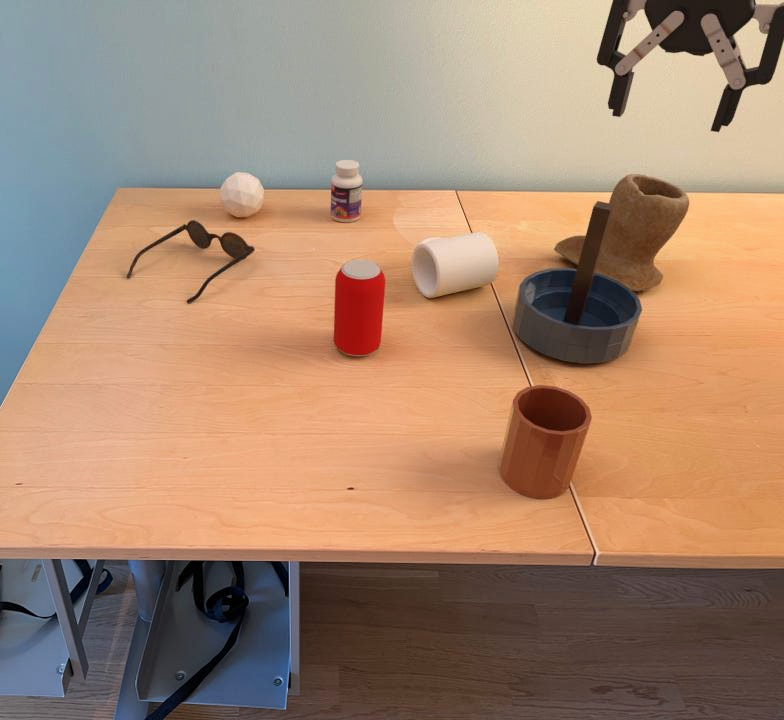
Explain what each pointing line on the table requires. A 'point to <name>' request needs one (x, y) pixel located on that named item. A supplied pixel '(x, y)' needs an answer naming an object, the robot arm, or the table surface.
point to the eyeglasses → (203, 239)
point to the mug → (454, 264)
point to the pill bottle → (346, 192)
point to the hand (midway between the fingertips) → (665, 121)
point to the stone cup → (635, 231)
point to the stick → (588, 262)
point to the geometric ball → (242, 194)
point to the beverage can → (358, 307)
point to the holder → (543, 441)
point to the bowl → (599, 322)
